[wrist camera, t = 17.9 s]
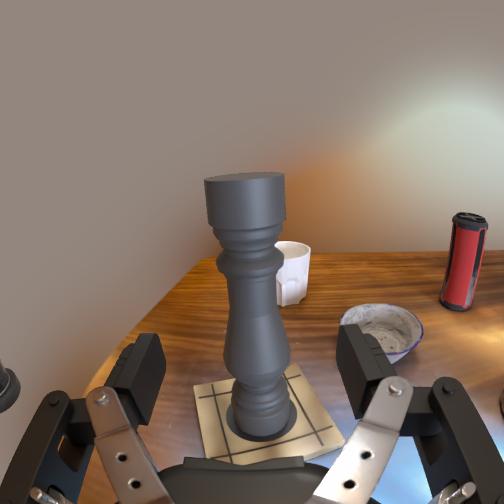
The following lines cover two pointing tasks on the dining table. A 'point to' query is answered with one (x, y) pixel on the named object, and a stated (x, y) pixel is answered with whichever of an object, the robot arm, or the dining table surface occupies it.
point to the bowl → (387, 327)
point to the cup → (292, 273)
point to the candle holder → (252, 294)
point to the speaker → (463, 260)
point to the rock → (502, 401)
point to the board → (271, 446)
